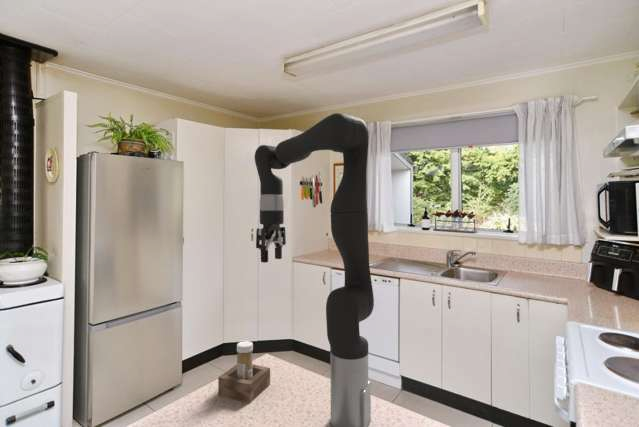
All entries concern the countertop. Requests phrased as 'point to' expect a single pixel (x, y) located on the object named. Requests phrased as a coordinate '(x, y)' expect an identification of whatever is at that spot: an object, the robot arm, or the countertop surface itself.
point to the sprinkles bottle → (244, 360)
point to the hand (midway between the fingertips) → (271, 260)
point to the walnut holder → (244, 384)
